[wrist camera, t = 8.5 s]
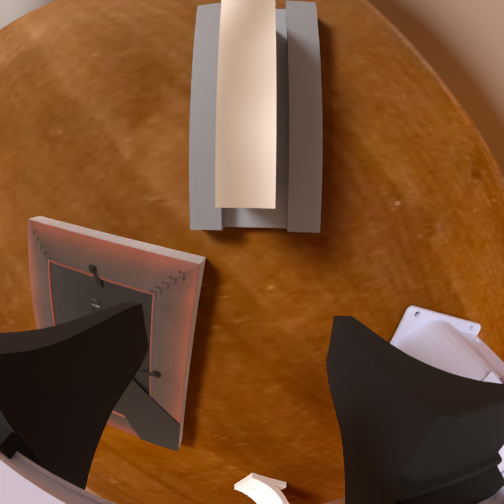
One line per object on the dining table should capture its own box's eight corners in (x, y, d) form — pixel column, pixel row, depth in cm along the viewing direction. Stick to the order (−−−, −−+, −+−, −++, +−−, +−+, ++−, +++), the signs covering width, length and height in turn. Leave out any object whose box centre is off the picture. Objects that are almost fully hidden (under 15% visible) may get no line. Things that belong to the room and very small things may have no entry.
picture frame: (183, 435, 26) (208, 255, 21) (178, 451, 24) (199, 265, 18) (62, 386, 27) (44, 214, 21) (52, 397, 24) (26, 219, 19)
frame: (275, 30, 15) (274, -19, 9) (275, 198, 18) (275, 208, 12) (237, 31, 15) (222, -16, 9) (234, 197, 18) (215, 207, 12)
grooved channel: (312, 14, 15) (315, 2, 13) (315, 227, 19) (320, 232, 17) (203, 16, 15) (197, 5, 14) (197, 224, 19) (190, 229, 18)
